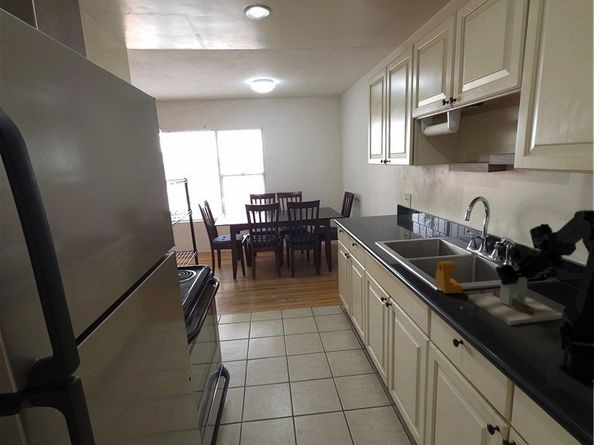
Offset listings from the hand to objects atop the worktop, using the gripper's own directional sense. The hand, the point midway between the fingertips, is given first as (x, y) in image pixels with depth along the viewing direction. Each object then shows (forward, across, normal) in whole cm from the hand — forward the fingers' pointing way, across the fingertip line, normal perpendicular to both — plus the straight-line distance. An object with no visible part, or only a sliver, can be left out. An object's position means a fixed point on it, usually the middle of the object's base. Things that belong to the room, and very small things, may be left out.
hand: (510, 282), depth 114 cm
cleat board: (+5, 0, +7) cm, 9 cm away
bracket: (+20, +11, -7) cm, 24 cm away
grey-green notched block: (+4, 0, +6) cm, 7 cm away
